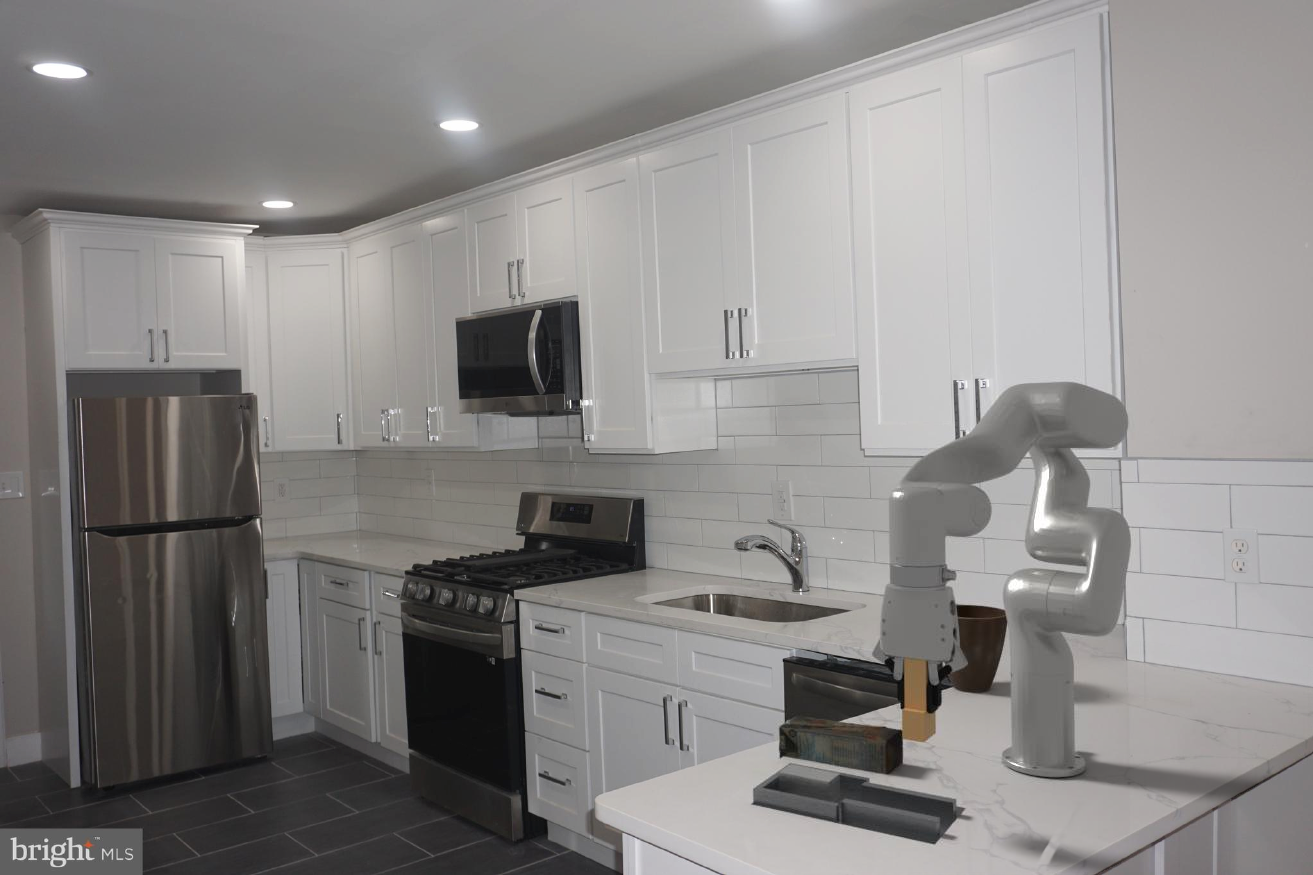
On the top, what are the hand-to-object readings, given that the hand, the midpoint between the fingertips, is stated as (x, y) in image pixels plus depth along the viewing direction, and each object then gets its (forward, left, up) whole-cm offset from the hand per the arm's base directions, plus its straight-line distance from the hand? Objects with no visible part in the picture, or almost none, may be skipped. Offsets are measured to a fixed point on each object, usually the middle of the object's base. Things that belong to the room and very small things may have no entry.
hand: (919, 707), depth 138 cm
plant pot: (-73, -14, -17) cm, 76 cm away
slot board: (0, -9, -16) cm, 19 cm away
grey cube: (0, -15, -16) cm, 22 cm away
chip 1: (0, -19, -16) cm, 24 cm away
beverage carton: (-18, -19, -17) cm, 31 cm away
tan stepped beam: (0, 0, -4) cm, 4 cm away
